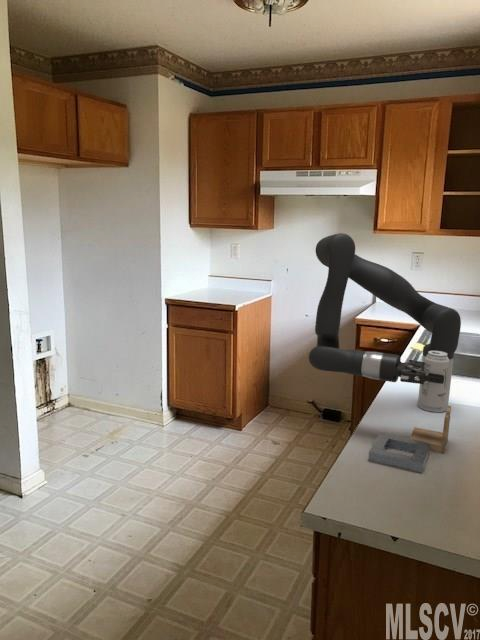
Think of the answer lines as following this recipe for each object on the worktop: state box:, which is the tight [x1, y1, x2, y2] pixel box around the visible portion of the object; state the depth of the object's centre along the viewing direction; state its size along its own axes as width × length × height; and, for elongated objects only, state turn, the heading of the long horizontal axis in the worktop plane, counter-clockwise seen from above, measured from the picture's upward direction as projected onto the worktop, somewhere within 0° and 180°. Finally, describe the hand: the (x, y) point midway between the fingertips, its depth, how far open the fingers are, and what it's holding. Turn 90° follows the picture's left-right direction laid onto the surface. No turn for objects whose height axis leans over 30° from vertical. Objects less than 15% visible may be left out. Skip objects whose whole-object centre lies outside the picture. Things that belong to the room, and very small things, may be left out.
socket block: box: [368, 432, 430, 474], centre depth 135 cm, size 13×13×2 cm
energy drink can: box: [421, 351, 449, 410], centre depth 139 cm, size 6×6×15 cm
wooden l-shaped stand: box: [408, 405, 452, 454], centre depth 142 cm, size 9×9×10 cm
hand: (445, 376), depth 138 cm, fingers closed on energy drink can, 6 cm apart
